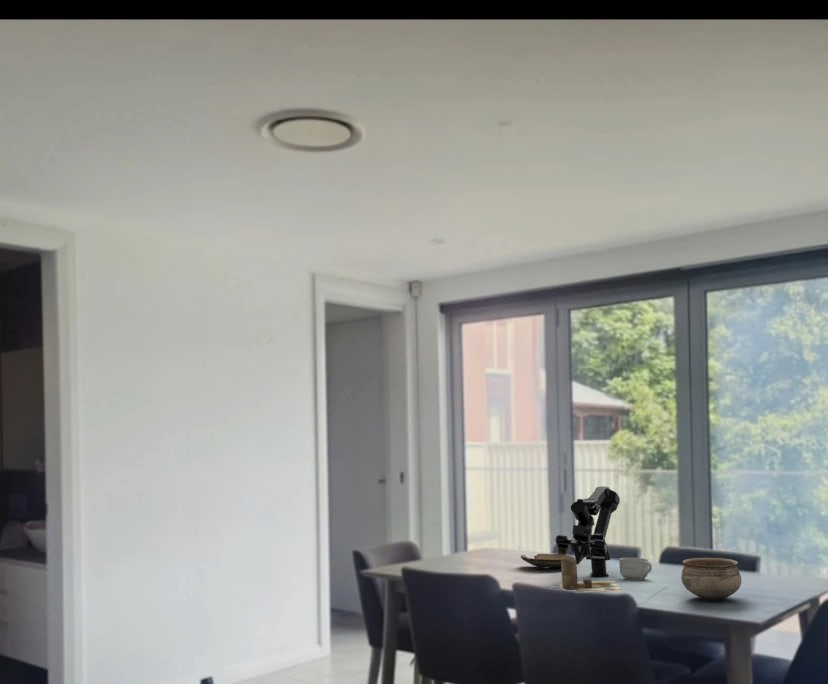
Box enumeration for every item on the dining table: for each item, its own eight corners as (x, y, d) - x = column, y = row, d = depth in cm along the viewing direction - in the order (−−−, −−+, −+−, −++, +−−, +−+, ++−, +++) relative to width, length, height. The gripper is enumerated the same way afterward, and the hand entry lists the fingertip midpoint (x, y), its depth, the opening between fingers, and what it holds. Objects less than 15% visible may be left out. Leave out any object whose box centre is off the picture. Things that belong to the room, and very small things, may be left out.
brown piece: (608, 584, 294) (606, 556, 296) (611, 586, 292) (609, 557, 293) (561, 588, 291) (559, 559, 292) (564, 589, 288) (562, 561, 289)
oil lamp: (509, 567, 347) (508, 549, 348) (562, 560, 363) (561, 542, 364) (542, 574, 328) (541, 555, 329) (597, 566, 344) (596, 547, 344)
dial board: (558, 584, 304) (558, 581, 304) (615, 583, 302) (615, 580, 302) (561, 595, 284) (561, 591, 284) (622, 594, 282) (622, 590, 282)
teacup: (614, 579, 312) (613, 557, 313) (638, 576, 316) (636, 555, 317) (636, 584, 299) (635, 562, 300) (660, 581, 303) (659, 559, 304)
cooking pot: (711, 590, 283) (709, 554, 285) (760, 598, 268) (757, 560, 269) (664, 600, 270) (662, 563, 271) (713, 609, 254) (710, 569, 255)
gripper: (557, 513, 310) (548, 548, 300) (606, 519, 302) (599, 555, 292) (562, 530, 317) (553, 564, 307) (609, 536, 309) (603, 571, 299)
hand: (577, 563), depth 301 cm, fingers closed
